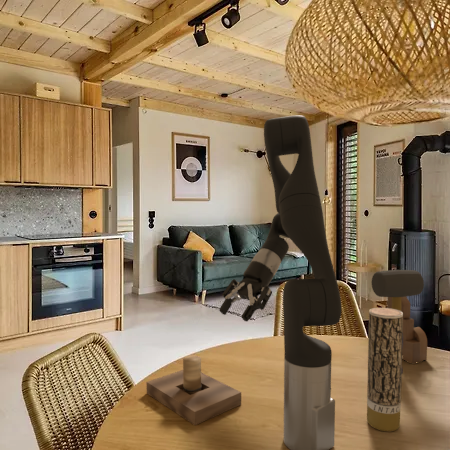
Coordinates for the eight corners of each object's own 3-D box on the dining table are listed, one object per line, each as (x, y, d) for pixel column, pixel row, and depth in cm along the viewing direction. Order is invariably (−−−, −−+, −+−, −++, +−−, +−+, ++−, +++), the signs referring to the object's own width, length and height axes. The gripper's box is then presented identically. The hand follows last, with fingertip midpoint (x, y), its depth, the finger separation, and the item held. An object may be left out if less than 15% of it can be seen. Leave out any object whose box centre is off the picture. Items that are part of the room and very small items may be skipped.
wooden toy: (428, 361, 127) (430, 280, 125) (412, 364, 124) (414, 281, 122) (389, 345, 141) (391, 272, 139) (374, 347, 138) (376, 273, 136)
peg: (205, 398, 102) (205, 359, 101) (190, 405, 99) (190, 364, 98) (194, 392, 105) (193, 353, 105) (179, 398, 102) (178, 358, 102)
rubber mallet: (406, 369, 120) (409, 267, 118) (423, 380, 113) (426, 271, 111) (367, 373, 117) (369, 268, 116) (382, 384, 110) (385, 272, 108)
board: (241, 404, 99) (241, 392, 99) (194, 425, 90) (194, 411, 90) (190, 377, 114) (190, 367, 114) (146, 393, 105) (146, 381, 104)
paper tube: (361, 417, 93) (364, 307, 92) (390, 416, 94) (393, 307, 92) (374, 433, 87) (377, 316, 85) (406, 432, 87) (409, 315, 86)
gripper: (238, 257, 120) (207, 303, 112) (275, 262, 109) (244, 313, 102) (250, 273, 123) (222, 318, 116) (288, 280, 113) (259, 330, 106)
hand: (232, 316), depth 109 cm, fingers open, 8 cm apart
